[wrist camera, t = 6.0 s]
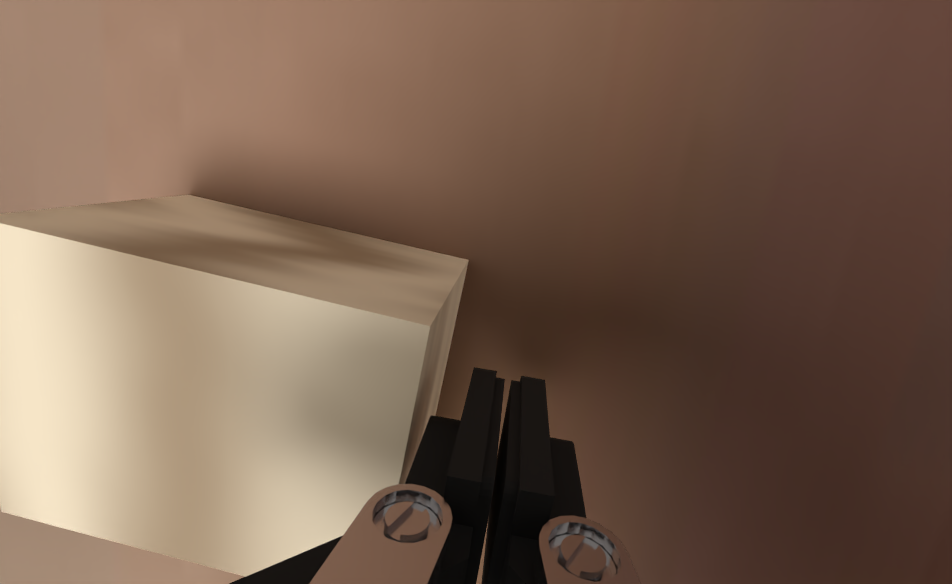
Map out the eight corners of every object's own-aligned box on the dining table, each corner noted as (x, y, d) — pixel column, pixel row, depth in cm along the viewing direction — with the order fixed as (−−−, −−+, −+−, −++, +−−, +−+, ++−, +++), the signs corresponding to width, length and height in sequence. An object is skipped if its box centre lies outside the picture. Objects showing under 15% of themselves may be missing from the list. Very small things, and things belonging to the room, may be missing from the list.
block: (469, 259, 14) (430, 325, 9) (427, 452, 16) (373, 611, 11) (189, 194, 15) (-28, 216, 9) (182, 390, 17) (1, 511, 11)
